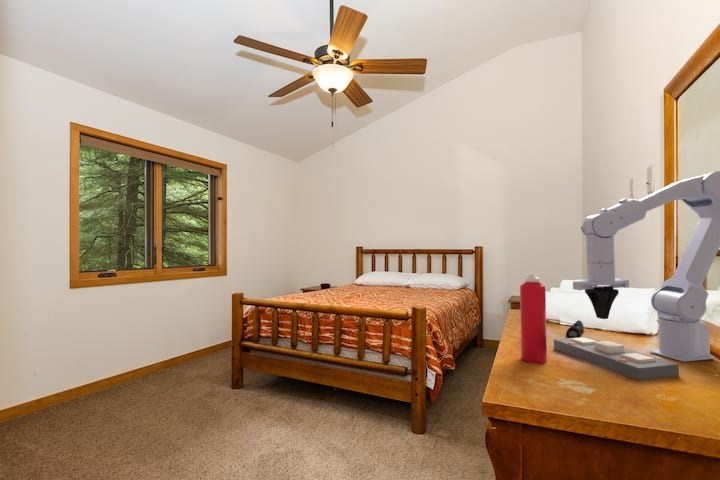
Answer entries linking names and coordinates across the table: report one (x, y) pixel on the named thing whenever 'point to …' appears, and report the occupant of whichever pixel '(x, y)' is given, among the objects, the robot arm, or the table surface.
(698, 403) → the table surface
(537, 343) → the bottle
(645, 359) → the key
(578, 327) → the electric trimmer
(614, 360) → the key panel
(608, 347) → the key middle
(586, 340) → the key
